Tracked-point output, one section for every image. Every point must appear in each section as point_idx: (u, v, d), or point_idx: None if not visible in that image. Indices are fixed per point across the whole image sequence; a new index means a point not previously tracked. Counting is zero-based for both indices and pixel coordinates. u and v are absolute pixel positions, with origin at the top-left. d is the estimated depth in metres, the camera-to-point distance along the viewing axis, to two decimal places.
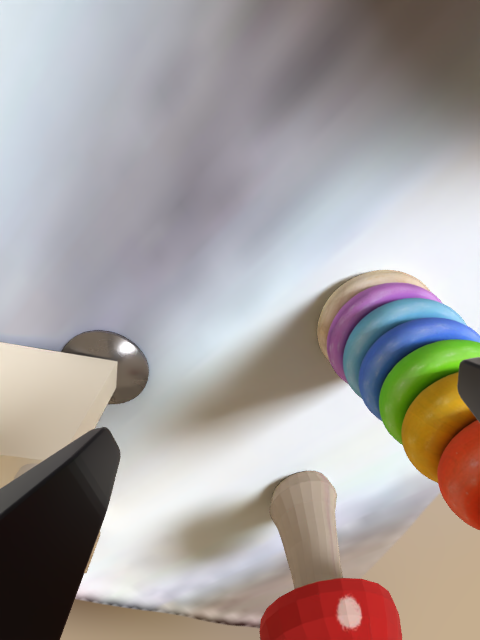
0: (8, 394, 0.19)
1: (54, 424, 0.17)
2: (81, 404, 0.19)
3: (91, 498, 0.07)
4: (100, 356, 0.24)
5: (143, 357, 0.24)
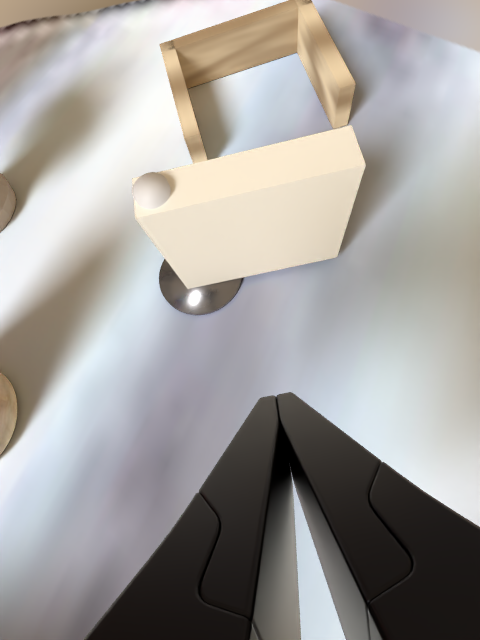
0: (240, 240, 0.19)
1: (175, 237, 0.18)
2: (173, 256, 0.19)
3: (287, 465, 0.07)
4: (205, 286, 0.24)
5: None
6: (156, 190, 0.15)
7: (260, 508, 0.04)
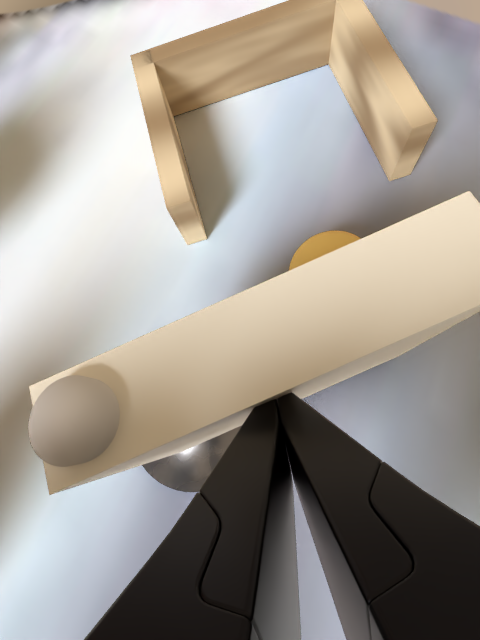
0: None
1: (148, 458, 0.09)
2: (151, 460, 0.10)
3: (288, 465, 0.07)
4: (203, 442, 0.15)
5: (143, 464, 0.15)
6: (85, 424, 0.07)
7: (260, 508, 0.04)
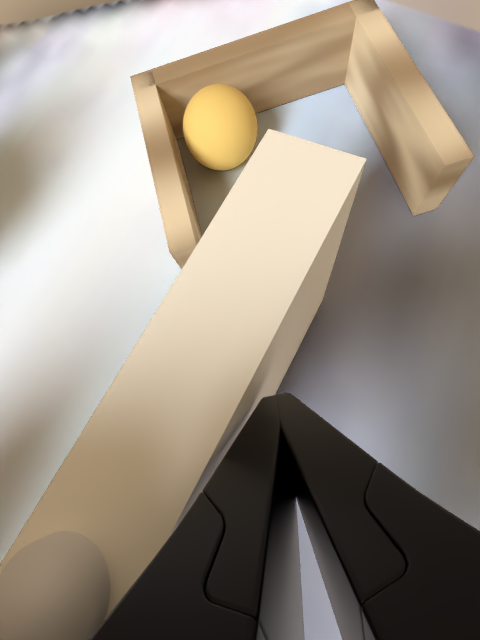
0: None
1: None
2: None
3: None
4: None
5: None
6: (65, 594, 0.05)
7: (264, 507, 0.04)
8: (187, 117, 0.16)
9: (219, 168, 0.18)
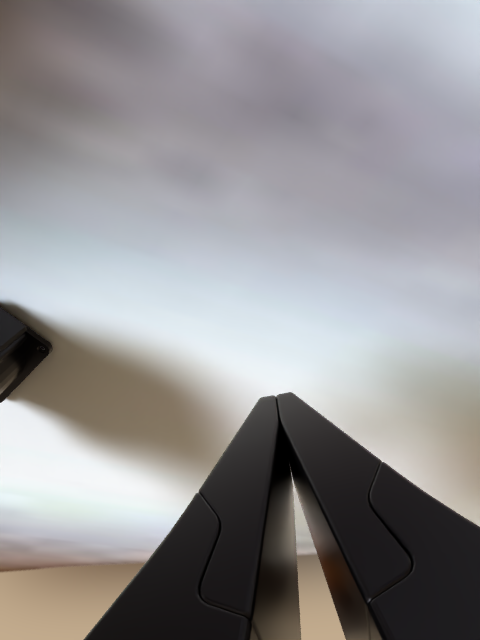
0: None
1: None
2: None
3: (287, 465, 0.07)
4: None
5: None
6: None
7: (260, 508, 0.04)
8: None
9: None
